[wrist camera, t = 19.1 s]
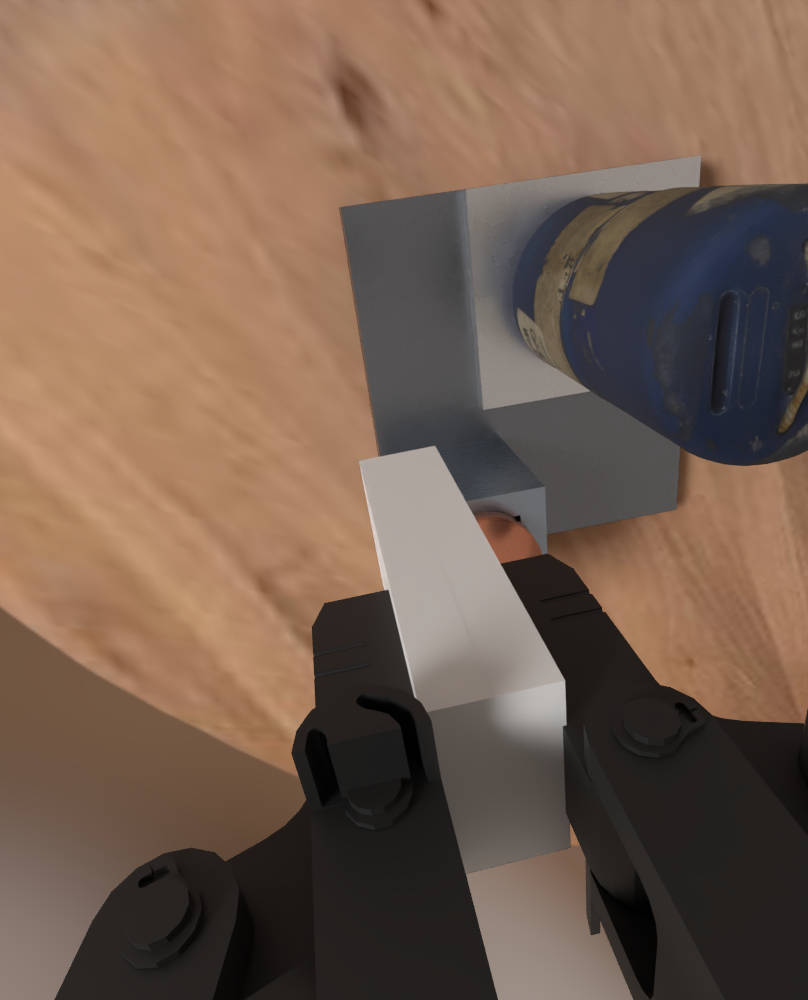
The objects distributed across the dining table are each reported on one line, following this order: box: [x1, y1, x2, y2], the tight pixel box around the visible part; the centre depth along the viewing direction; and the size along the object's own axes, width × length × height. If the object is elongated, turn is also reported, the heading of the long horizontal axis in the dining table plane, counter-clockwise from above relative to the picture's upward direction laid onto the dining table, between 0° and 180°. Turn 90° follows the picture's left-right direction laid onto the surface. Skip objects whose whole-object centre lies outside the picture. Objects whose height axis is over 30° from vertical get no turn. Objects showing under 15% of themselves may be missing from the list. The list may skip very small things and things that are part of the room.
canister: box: [512, 184, 808, 466], centre depth 28 cm, size 10×10×18 cm
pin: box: [473, 512, 542, 564], centre depth 37 cm, size 6×6×9 cm
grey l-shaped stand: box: [339, 156, 701, 555], centre depth 36 cm, size 22×20×10 cm
